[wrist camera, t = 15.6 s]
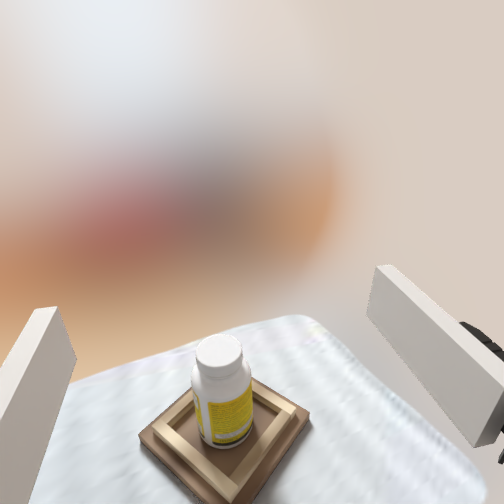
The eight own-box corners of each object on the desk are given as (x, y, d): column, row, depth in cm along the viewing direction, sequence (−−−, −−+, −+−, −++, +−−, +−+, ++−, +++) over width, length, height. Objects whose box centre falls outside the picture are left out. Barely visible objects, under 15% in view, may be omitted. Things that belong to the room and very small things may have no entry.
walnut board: (140, 440, 32) (136, 427, 31) (223, 365, 41) (222, 353, 40) (232, 531, 26) (230, 518, 25) (309, 418, 34) (310, 405, 33)
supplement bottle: (263, 416, 33) (262, 342, 29) (231, 463, 29) (224, 386, 25) (221, 391, 36) (214, 321, 31) (186, 431, 32) (172, 357, 27)
